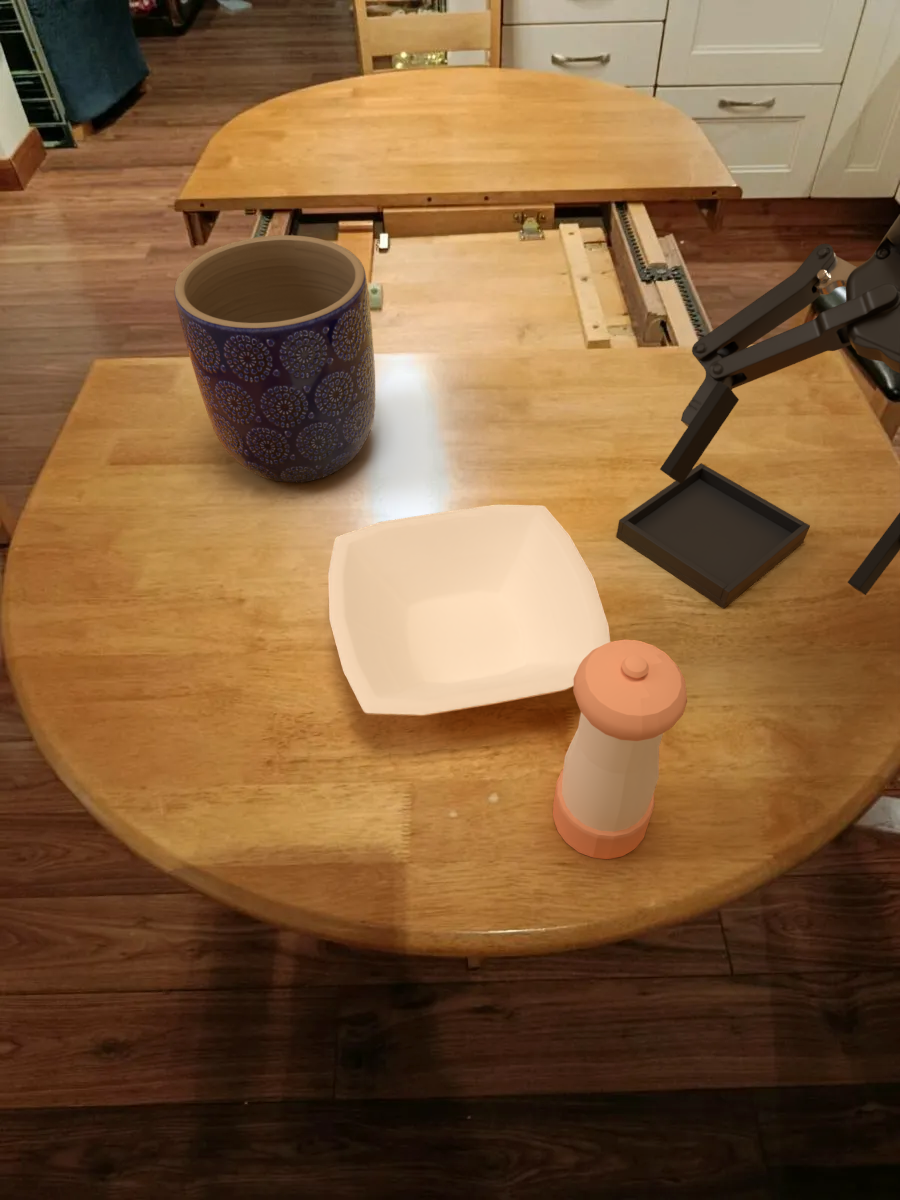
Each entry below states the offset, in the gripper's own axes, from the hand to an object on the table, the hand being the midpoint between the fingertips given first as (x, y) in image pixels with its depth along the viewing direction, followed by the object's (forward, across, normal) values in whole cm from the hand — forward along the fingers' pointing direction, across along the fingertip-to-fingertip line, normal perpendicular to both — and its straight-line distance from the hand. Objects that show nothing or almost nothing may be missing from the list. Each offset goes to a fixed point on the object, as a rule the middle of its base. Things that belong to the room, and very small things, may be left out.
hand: (757, 530), depth 53 cm
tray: (+2, +13, -31) cm, 33 cm away
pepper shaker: (+24, 0, -9) cm, 26 cm away
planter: (+18, +53, -15) cm, 58 cm away
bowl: (+21, +20, -12) cm, 31 cm away
